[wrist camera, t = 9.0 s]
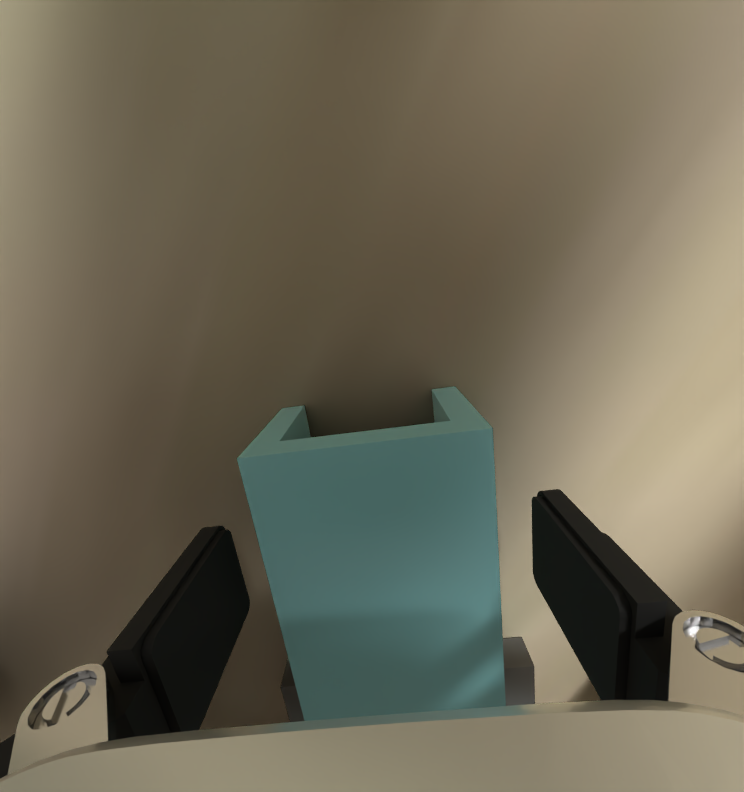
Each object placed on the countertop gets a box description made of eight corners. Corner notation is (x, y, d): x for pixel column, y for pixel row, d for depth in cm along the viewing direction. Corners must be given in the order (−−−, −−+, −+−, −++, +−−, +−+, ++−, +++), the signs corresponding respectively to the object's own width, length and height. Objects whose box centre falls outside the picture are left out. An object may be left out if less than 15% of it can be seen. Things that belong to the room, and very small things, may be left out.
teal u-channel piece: (281, 408, 12) (236, 458, 8) (454, 386, 12) (492, 428, 8) (368, 815, 18) (365, 957, 14) (486, 807, 17) (517, 950, 14)
